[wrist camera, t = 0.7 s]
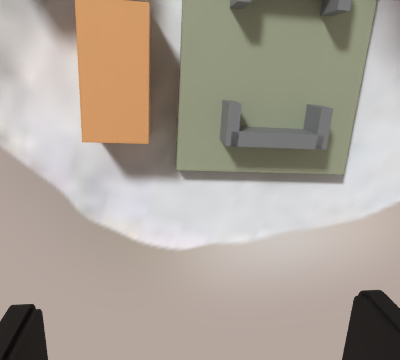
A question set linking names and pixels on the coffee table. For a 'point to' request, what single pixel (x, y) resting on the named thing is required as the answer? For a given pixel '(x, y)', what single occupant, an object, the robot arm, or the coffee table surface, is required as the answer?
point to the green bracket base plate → (270, 84)
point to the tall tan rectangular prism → (114, 70)
